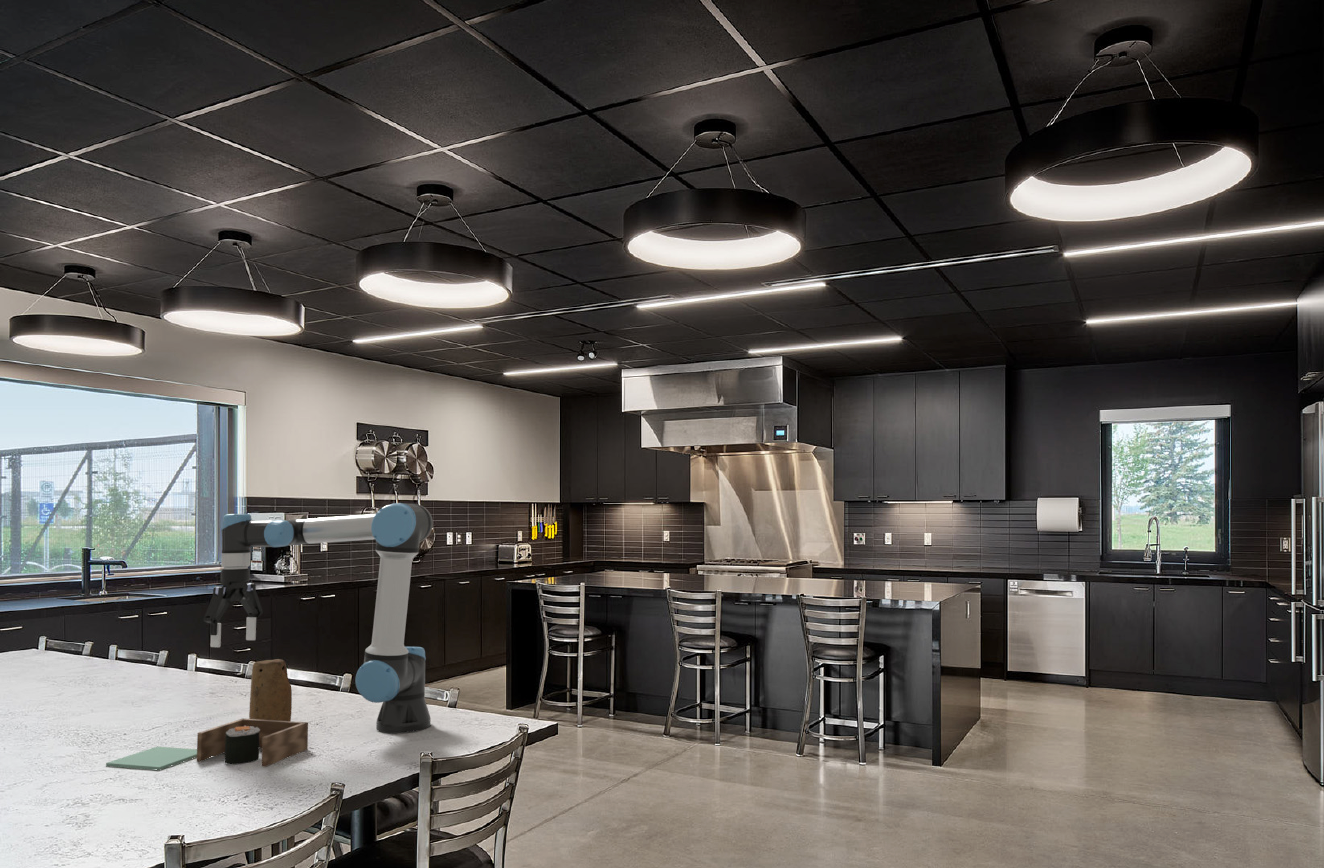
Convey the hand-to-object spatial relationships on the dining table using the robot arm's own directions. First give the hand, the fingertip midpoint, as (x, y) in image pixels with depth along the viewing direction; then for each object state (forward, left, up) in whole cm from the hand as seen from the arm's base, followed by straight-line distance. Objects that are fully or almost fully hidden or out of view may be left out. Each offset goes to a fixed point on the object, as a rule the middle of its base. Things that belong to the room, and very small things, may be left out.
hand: (233, 643), depth 257 cm
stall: (-21, +17, -25) cm, 37 cm away
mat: (0, +26, -25) cm, 36 cm away
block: (-8, -6, -26) cm, 27 cm away
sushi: (-21, +21, -26) cm, 39 cm away
